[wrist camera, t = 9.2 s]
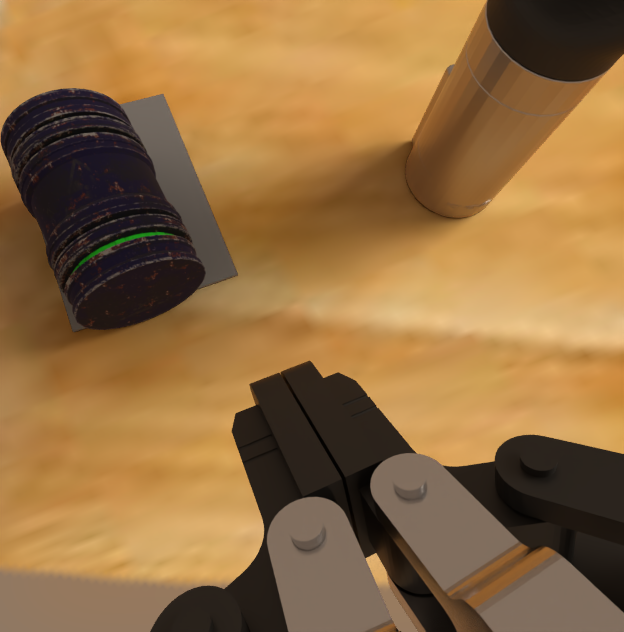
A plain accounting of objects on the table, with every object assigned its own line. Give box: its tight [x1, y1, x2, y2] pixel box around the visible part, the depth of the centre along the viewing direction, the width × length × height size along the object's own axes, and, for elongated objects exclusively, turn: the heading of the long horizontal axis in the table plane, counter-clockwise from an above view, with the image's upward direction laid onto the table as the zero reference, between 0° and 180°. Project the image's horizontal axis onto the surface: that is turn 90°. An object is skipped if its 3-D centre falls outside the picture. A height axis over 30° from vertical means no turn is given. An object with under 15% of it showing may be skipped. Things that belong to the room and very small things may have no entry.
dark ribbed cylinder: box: [1, 88, 206, 330], centre depth 37 cm, size 10×10×15 cm
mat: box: [42, 94, 238, 332], centre depth 42 cm, size 20×14×1 cm
